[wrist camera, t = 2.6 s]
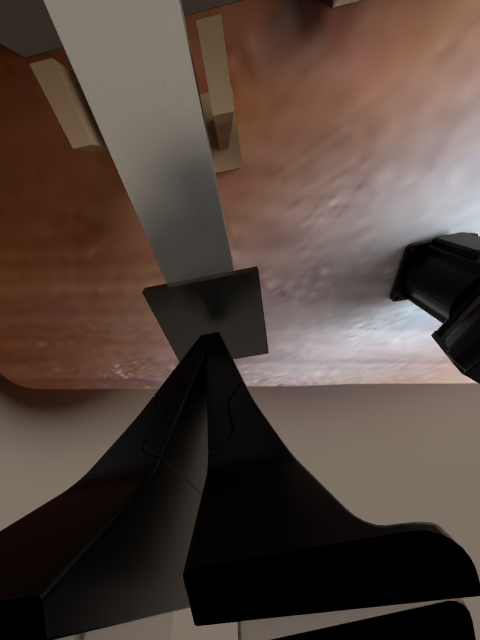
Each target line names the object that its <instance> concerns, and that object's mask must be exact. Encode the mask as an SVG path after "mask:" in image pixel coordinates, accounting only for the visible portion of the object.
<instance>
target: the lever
mask: <svg viewBox="0 0 480 640" xmlns="http://www.w3.org/2000/svg"><path fill="white" fill-rule="evenodd" d="M43 1H44V3H45V5H46V7H47V10H48V12H49V14H50V17H51V19H52V21H53V23H54V26H55V28H56V30H57V33H58V35H59V37H60V40H61V42H62V44H63V46H64V49H65V51H66V53H67V56H68V58H69V60H70V62H71V65H72V67H73V69H74V72H75V74H76V76H77V78H78V81H79V83H80V85H81V88H82V90H83V92H84V95H85V97H86V99H87V101H88V104H89V106H90V108H91V111H92V113H93V115H94V117H95V120H96V122H97V124H98V127H99V129H100V131H101V133H102V136H103V138H104V140H105V143H106V145H107V147H108V150H109V152H110V154H111V156H112V159H113V161H114V163H115V166H116V168H117V170H118V172H119V175H120V177H121V179H122V182H123V184H124V186H125V188H126V191H127V193H128V195H129V198H130V200H131V202H132V205H133V207H134V209H135V211H136V214H137V216H138V218H139V221H140V223H141V225H142V227H143V230H144V232H145V234H146V237H147V239H148V241H149V243H150V246H151V248H152V250H153V253H154V255H155V257H156V260H157V262H158V264H159V266H160V269H161V271H162V273H163V276H164V278H165V280H166V282H167V284H163V285H157V286H152V287H147V288H145V289H144V290H143V292H142V293H143V295H144V296H145V298H146V300H147V302H148V304H149V306H150V308H151V310H152V311H153V313H154V315H155V317H156V319H157V321H158V323H159V325H160V326H161V328H162V330H163V332H164V334H165V336H166V338H167V339H168V341H169V343H170V345H171V347H172V349H173V351H174V353H175V354H176V356H177V358H178V360H179V362H180V361H181V360H182V359H183V357H184V356H185V355H186V354H187V352H188V351H189V350H190V348H191V347H192V346H193V344H194V343H195V342H196V341H197V339H198V338H199V337H200V336H201V335H204V334H211V333H215V332H219V333H220V335H221V337H222V339H223V341H224V343H225V345H226V347H227V349H228V351H229V353H230V355H231V357H232V359H237V358H243V357H249V356H255V355H261V354H267V353H269V352H268V344H267V336H266V328H265V320H264V312H263V304H262V296H261V288H260V280H259V272H258V268H257V267H251V268H246V269H241V270H236V271H235V268H234V263H233V258H232V253H231V248H230V243H229V238H228V233H227V228H226V223H225V218H224V213H223V208H222V203H221V198H220V193H219V188H218V183H217V178H216V173H215V168H214V163H213V158H212V153H211V148H210V143H209V138H208V133H207V128H206V123H205V118H204V113H203V108H202V103H201V98H200V93H199V88H198V83H197V78H196V73H195V68H194V63H193V58H192V53H191V48H190V43H189V38H188V33H187V28H186V23H185V18H184V13H183V8H182V3H181V0H43Z"/></svg>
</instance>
